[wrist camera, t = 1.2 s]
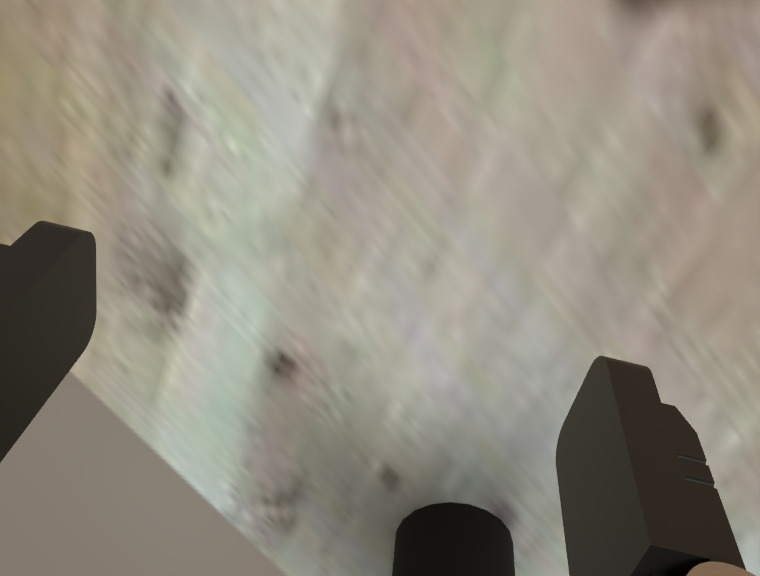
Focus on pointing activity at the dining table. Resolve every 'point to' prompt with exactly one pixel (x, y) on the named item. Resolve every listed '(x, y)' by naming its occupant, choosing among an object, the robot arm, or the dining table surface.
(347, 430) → the dining table surface
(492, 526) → the wine bottle
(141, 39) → the dining table surface
